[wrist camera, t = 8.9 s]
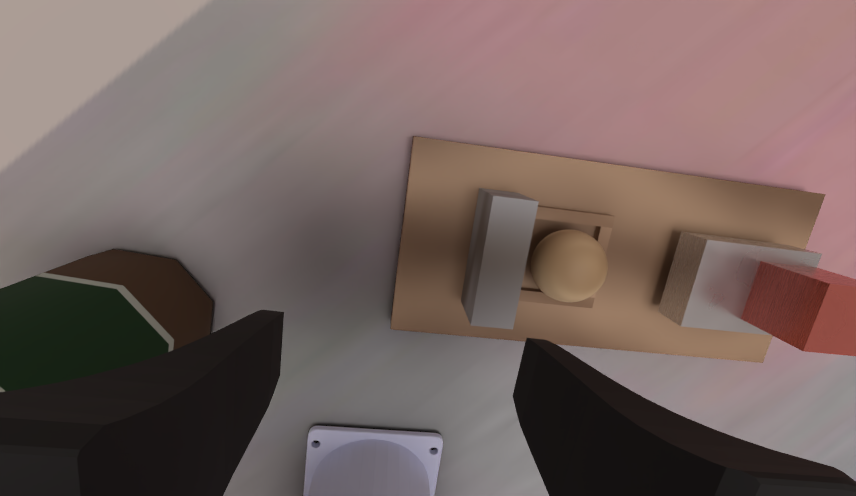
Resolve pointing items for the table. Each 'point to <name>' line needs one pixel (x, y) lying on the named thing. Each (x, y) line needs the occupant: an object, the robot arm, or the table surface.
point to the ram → (760, 293)
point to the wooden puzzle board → (570, 210)
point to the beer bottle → (97, 317)
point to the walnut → (569, 265)
